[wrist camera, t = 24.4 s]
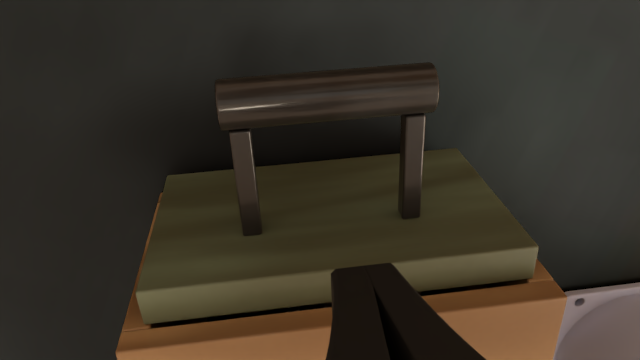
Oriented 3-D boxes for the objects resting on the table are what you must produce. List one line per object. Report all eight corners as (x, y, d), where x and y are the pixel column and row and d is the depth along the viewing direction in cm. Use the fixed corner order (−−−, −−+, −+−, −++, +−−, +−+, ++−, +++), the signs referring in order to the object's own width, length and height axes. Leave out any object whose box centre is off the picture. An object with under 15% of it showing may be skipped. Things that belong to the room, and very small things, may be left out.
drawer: (140, 46, 18) (87, 123, 12) (467, 22, 19) (571, 81, 13) (212, 397, 26) (203, 545, 20) (437, 367, 27) (491, 500, 21)
